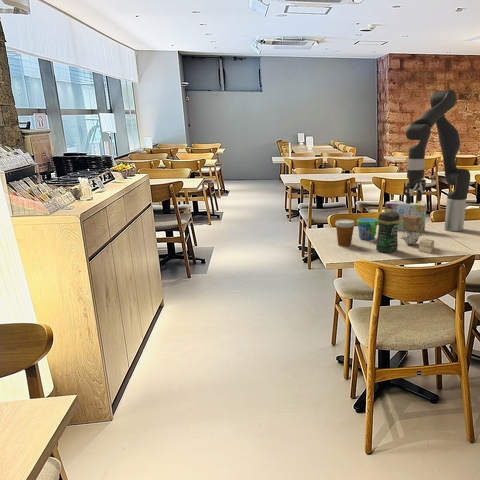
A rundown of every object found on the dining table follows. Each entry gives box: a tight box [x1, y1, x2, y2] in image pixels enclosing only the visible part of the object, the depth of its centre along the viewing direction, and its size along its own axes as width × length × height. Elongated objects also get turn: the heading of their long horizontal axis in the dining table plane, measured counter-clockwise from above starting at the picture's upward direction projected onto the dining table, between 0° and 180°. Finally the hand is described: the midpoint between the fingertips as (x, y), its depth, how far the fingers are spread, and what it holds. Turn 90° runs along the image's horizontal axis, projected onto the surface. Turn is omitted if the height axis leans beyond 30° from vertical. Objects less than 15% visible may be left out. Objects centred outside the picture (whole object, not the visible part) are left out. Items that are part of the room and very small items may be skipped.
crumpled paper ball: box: [400, 229, 422, 247], centre depth 212 cm, size 9×8×10 cm
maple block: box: [418, 238, 435, 254], centre depth 201 cm, size 5×5×5 cm
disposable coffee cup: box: [334, 218, 356, 247], centre depth 215 cm, size 10×10×12 cm
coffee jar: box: [375, 211, 399, 254], centre depth 202 cm, size 10×8×19 cm
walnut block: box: [403, 215, 422, 231], centre depth 210 cm, size 6×6×6 cm
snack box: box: [383, 201, 428, 233], centre depth 240 cm, size 21×6×15 cm, turn 58°
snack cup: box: [356, 217, 379, 241], centre depth 225 cm, size 16×10×10 cm
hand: (413, 202), depth 207 cm, fingers open, 8 cm apart
